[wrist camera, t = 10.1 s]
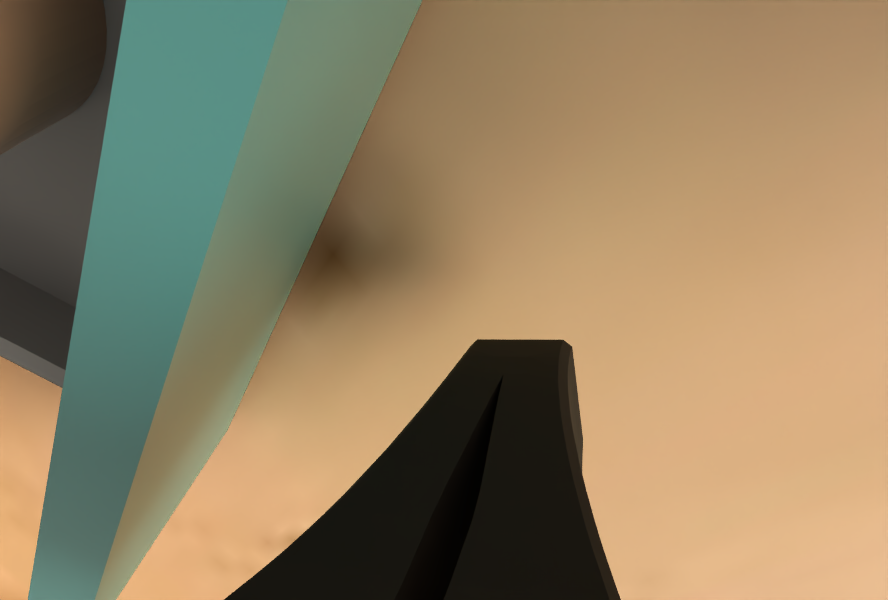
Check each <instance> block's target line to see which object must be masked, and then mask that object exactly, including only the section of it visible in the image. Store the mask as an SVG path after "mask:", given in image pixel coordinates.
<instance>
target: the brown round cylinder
mask: <svg viewBox="0 0 888 600" xmlns="http://www.w3.org/2000/svg"><path fill="white" fill-rule="evenodd" d="M106 37H107V28H106V17H105V8H104V3H103V0H0V155H1V154H3V153H5V152H7V151H8V150H10V149H12V148H13V147H15V146H17V145H19V144H20V143H22V142H24V141H25V140H27V139H29V138H31V137H32V136H34V135H36V134H37V133H39V132H41V131H43V130H44V129H46V128H48V127H49V126H51V125H53V124H55V123H56V122H58V121H60V120H61V119H63V118H65V117H67V116H68V115H70V114H72V113H73V112H74V111H75V110H77V109H78V108H79V107H81V106H82V105H83V104H84V102H85V101H86V100H87V99H88V98H89V96H90V95H91V94H92V92H93V90H94V88H95V86H96V85H97V83H98V81H99V78H100V75H101V72H102V69H103V65H104V59H105V53H106Z"/></svg>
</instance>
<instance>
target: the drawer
mask: <svg viewBox="0 0 888 600" xmlns="http://www.w3.org/2000/svg"><path fill="white" fill-rule="evenodd" d="M421 2H422V0H103V3H104V8H105V17H106V28H107V37H106V53H105V59H104V65H103V69H102V72H101V75H100V78H99V81H98V83H97V85H96V86H95V88H94V90H93V92H92V94H91V95H90V96H89V98H88V99H87V100H86V101H85V102H84V104H83V105H82V106H81V107H79V108H78V109H77V110H75V111H74V112H73V113H72V114H70V115H68V116H67V117H65V118H63V119H61V120H60V121H58V122H56V123H55V124H53V125H51V126H49V127H48V128H46V129H44V130H43V131H41V132H39V133H37V134H36V135H34V136H32V137H31V138H29V139H27V140H25V141H24V142H22V143H20V144H19V145H17V146H15V147H13V148H12V149H10V150H8V151H7V152H5V153H3V154H1V155H0V356H2V357H3V358H5V359H7V360H9V361H11V362H13V363H15V364H17V365H19V366H21V367H23V368H25V369H27V370H29V371H31V372H33V373H35V374H36V375H38V376H40V377H42V378H44V379H46V380H48V381H50V382H52V383H54V384H56V385H58V386H60V387H62V388H63V389H62V395H61V401H60V407H59V413H58V419H57V425H56V432H55V438H54V444H53V450H52V456H51V462H50V468H49V474H48V480H47V486H46V492H45V498H44V505H43V511H42V517H41V523H40V529H39V535H38V541H37V547H36V553H35V559H34V565H33V572H32V578H31V584H30V590H29V596H28V600H116V599H117V597H118V596H119V594H120V593H121V591H122V590H123V588H124V587H125V585H126V584H127V582H128V581H129V579H130V578H131V576H132V575H133V573H134V572H135V570H136V568H137V567H138V565H139V564H140V562H141V561H142V559H143V558H144V556H145V555H146V553H147V552H148V550H149V549H150V547H151V546H152V544H153V543H154V541H155V540H156V538H157V537H158V535H159V534H160V532H161V530H162V529H163V527H164V526H165V524H166V523H167V521H168V520H169V518H170V517H171V515H172V514H173V512H174V511H175V509H176V508H177V506H178V505H179V503H180V502H181V500H182V499H183V497H184V495H185V494H186V492H187V491H188V489H189V488H190V486H191V485H192V483H193V482H194V480H195V479H196V477H197V476H198V474H199V473H200V471H201V470H202V468H203V467H204V465H205V464H206V462H207V461H208V459H209V457H210V456H211V454H212V453H213V451H214V450H215V448H216V447H217V445H218V444H219V442H220V441H221V439H222V438H223V436H224V435H225V433H226V432H227V430H228V428H229V426H230V424H231V421H232V419H233V417H234V415H235V413H236V410H237V408H238V406H239V404H240V402H241V399H242V397H243V395H244V393H245V391H246V388H247V386H248V384H249V382H250V379H251V377H252V375H253V373H254V371H255V368H256V366H257V364H258V362H259V360H260V357H261V355H262V353H263V351H264V349H265V346H266V344H267V342H268V340H269V338H270V335H271V333H272V331H273V329H274V327H275V324H276V322H277V320H278V318H279V316H280V313H281V311H282V309H283V307H284V305H285V302H286V300H287V298H288V296H289V294H290V291H291V289H292V287H293V285H294V282H295V280H296V278H297V276H298V274H299V271H300V269H301V267H302V265H303V263H304V260H305V258H306V256H307V254H308V252H309V249H310V247H311V245H312V243H313V241H314V238H315V236H316V234H317V232H318V230H319V227H320V225H321V223H322V221H323V219H324V216H325V214H326V212H327V210H328V208H329V205H330V203H331V201H332V199H333V197H334V194H335V192H336V190H337V188H338V185H339V183H340V181H341V179H342V177H343V174H344V172H345V170H346V168H347V166H348V163H349V161H350V159H351V157H352V155H353V152H354V150H355V148H356V146H357V144H358V141H359V139H360V137H361V135H362V133H363V130H364V128H365V126H366V124H367V122H368V119H369V117H370V115H371V113H372V111H373V108H374V106H375V104H376V102H377V99H378V97H379V95H380V93H381V91H382V88H383V86H384V84H385V82H386V80H387V77H388V75H389V73H390V71H391V69H392V66H393V64H394V62H395V60H396V58H397V55H398V53H399V51H400V49H401V47H402V44H403V42H404V40H405V38H406V36H407V33H408V31H409V29H410V27H411V25H412V22H413V20H414V18H415V16H416V14H417V11H418V9H419V7H420V5H421Z"/></svg>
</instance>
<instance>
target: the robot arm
mask: <svg viewBox="0 0 888 600" xmlns="http://www.w3.org/2000/svg"><path fill="white" fill-rule="evenodd" d="M582 452H583V436H582V427H581V419H580V410H579V402H578V393H577V384H576V376H575V367H574V359H573V350H572V346H570V345H569V344H568V343H567V342H565V341H564V340H476V341H475V342H474V343H473V344H472V345H471V346H470V348H469V349H468V350H467V352H466V353H465V354H464V355H463V357H462V358H461V359H460V360H459V362H458V363H457V364H456V366H455V367H454V368H453V369H452V371H451V372H450V373H449V375H448V376H447V377H446V378H445V380H444V381H443V382H442V383H441V385H440V386H439V387H438V388H437V390H436V391H435V392H434V393H433V395H432V396H431V397H430V398H429V400H428V401H427V402H426V403H425V405H424V406H423V407H422V408H421V409H420V411H419V412H418V413H417V414H416V415H415V416H414V418H413V419H412V420H411V421H410V422H409V423H408V425H407V426H406V427H405V428H404V429H403V431H402V432H401V433H400V434H399V435H398V436H397V438H396V439H395V440H394V441H393V442H392V443H391V445H390V446H389V447H388V448H387V449H386V450H385V451H384V452H383V454H382V455H381V456H380V457H379V458H378V459H377V460H376V461H375V462H374V463H373V464H372V465H371V466H370V467H369V468H368V469H367V471H366V472H365V473H364V474H363V475H362V476H361V477H360V478H359V479H358V480H357V481H356V482H355V483H354V484H353V485H352V486H351V487H350V489H349V490H348V491H347V492H346V493H345V494H344V495H343V496H342V497H341V498H340V499H339V500H338V501H337V502H336V503H335V504H334V505H333V506H332V507H331V508H330V509H329V510H328V511H327V512H326V513H325V514H324V515H322V516H321V517H320V518H319V519H318V520H317V521H316V522H315V523H314V524H313V525H312V526H311V527H310V528H309V529H308V530H306V531H305V532H304V533H303V534H302V535H301V536H300V537H299V538H298V539H296V540H295V541H294V542H293V543H292V544H291V545H290V546H289V547H288V548H287V549H285V550H284V551H283V552H282V553H281V554H280V555H278V556H277V557H276V558H275V559H274V560H272V561H271V562H270V563H269V564H268V565H266V566H265V567H264V568H263V569H262V570H260V571H259V572H258V573H257V574H256V575H254V576H253V577H252V578H251V579H249V580H248V581H247V582H246V583H244V584H243V585H242V586H241V587H239V588H238V589H237V590H236V591H234V592H233V593H232V594H231V595H229V596H228V597H227V598H225V599H224V600H621V599H620V596H619V594H618V591H617V588H616V585H615V582H614V579H613V576H612V573H611V571H610V568H609V565H608V562H607V559H606V556H605V553H604V550H603V547H602V543H601V540H600V537H599V534H598V530H597V527H596V524H595V521H594V517H593V513H592V510H591V506H590V503H589V499H588V495H587V492H586V488H585V484H584V480H583V476H582Z"/></svg>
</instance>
